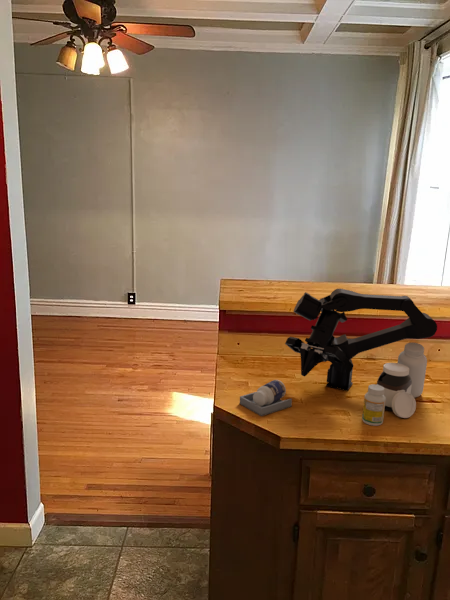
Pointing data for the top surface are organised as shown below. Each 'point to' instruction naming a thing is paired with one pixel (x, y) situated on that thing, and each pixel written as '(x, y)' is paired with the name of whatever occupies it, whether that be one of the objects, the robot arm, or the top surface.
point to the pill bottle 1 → (269, 393)
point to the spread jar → (397, 389)
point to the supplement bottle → (374, 405)
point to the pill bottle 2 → (414, 366)
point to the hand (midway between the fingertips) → (302, 375)
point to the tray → (264, 410)
